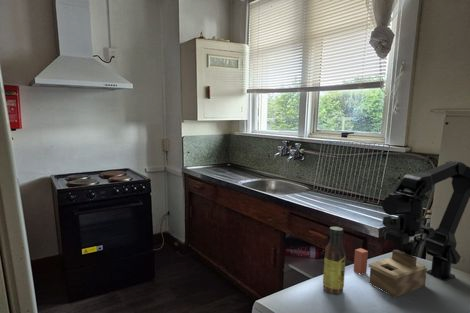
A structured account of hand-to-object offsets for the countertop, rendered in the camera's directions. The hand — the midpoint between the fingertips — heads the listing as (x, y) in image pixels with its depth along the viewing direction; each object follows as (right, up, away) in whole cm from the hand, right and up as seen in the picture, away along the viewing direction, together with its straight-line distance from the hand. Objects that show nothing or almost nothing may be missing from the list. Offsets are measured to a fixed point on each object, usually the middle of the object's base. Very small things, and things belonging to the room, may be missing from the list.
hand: (407, 258), depth 101 cm
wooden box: (-4, -8, -2) cm, 9 cm away
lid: (-5, -2, -3) cm, 6 cm away
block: (-13, -7, +7) cm, 17 cm away
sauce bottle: (-27, -8, -6) cm, 29 cm away
